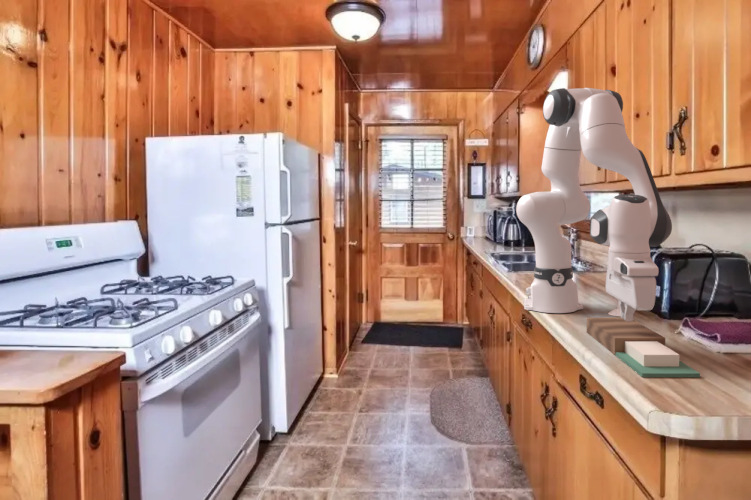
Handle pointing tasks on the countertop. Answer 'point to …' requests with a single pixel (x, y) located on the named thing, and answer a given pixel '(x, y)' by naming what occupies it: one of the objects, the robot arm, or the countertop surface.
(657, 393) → the countertop surface
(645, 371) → the mat
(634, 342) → the cream block
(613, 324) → the brown striped block
